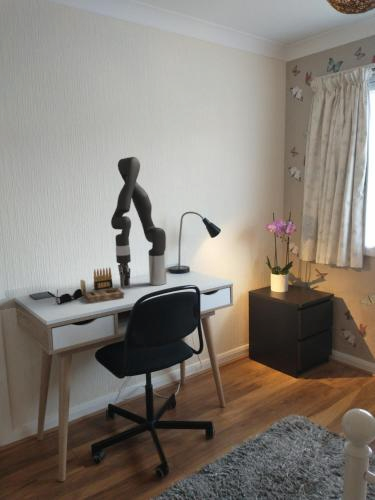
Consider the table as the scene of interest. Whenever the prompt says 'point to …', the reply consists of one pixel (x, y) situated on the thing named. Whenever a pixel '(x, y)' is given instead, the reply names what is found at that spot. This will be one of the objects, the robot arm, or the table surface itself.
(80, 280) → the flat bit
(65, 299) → the sunglasses
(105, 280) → the ammunition clip
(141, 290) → the table surface
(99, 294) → the bore block
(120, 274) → the square bit
